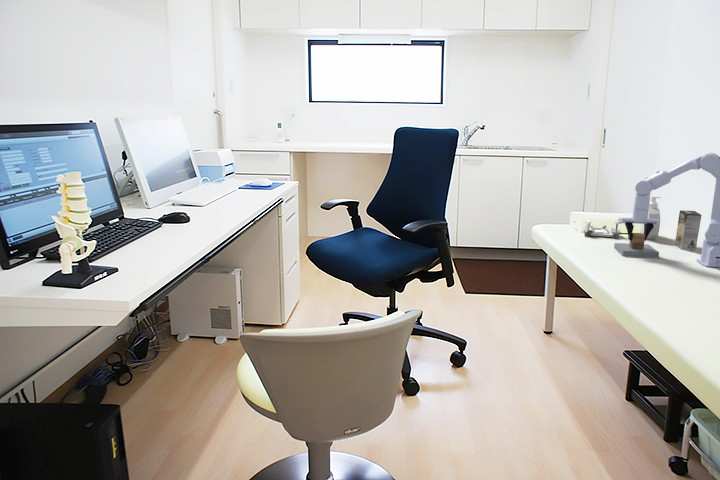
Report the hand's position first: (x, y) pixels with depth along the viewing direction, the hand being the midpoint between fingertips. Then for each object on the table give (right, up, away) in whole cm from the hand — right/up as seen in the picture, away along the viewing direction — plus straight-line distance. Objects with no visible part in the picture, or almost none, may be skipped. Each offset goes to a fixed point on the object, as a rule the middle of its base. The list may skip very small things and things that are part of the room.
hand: (637, 240), depth 241 cm
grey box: (0, -6, +2) cm, 6 cm away
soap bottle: (+21, +1, +30) cm, 37 cm away
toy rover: (0, +2, +33) cm, 33 cm away
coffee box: (+27, -3, +12) cm, 30 cm away
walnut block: (0, -3, +1) cm, 3 cm away
